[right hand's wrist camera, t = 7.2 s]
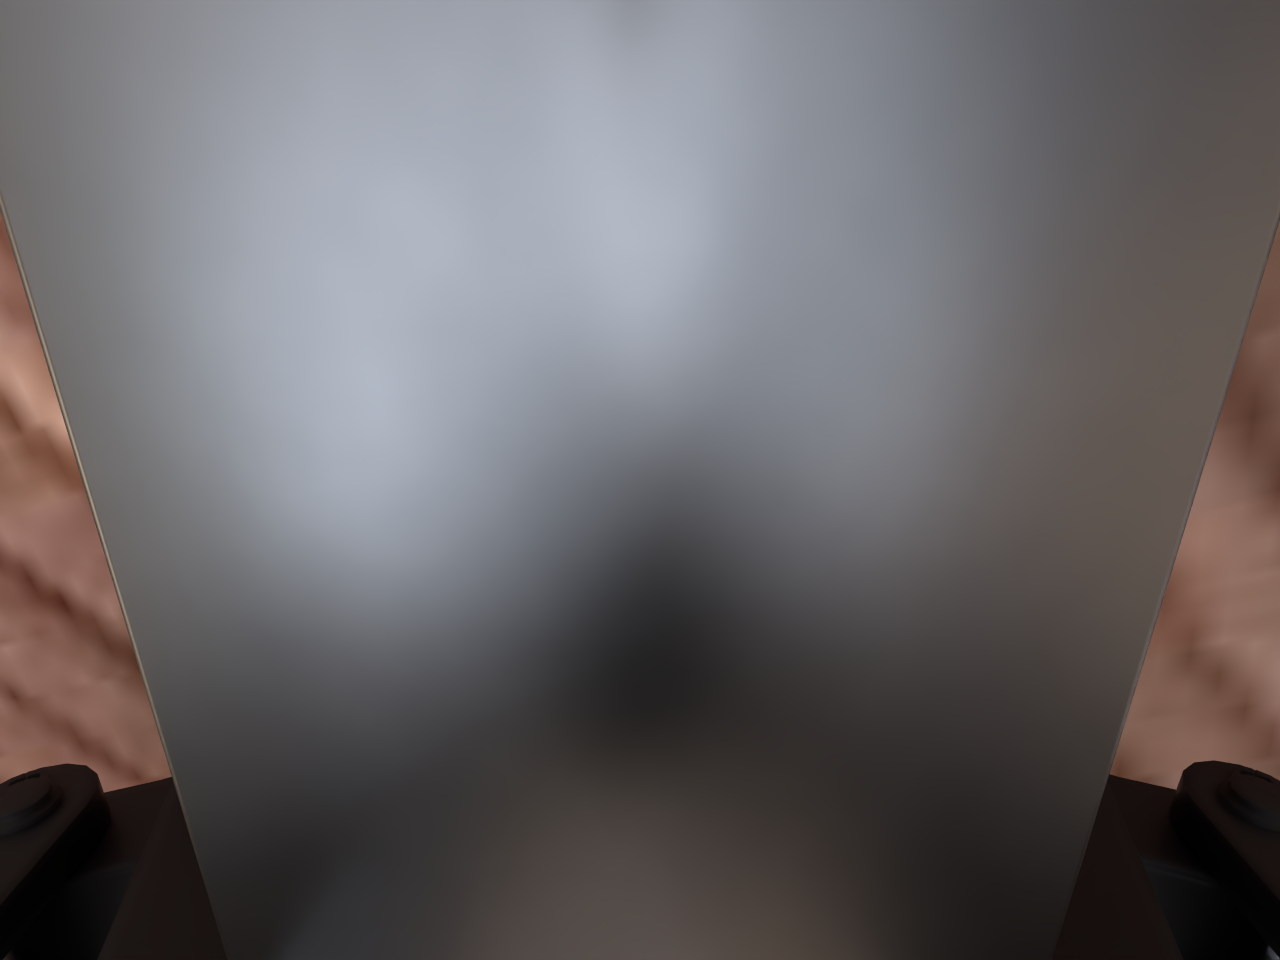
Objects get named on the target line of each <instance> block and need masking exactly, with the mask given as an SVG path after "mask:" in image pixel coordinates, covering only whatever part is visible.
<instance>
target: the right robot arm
mask: <svg viewBox="0 0 1280 960" xmlns="http://www.w3.org/2000/svg"><path fill="white" fill-rule="evenodd" d="M0 960H227V956H226V953H225V950H224V947H223V943H222V940H221V937H220V933H219V930H218V927H217V923H216V920H215V917H214V914H213V910H212V907H211V904H210V900H209V897H208V894H207V890H206V887H205V884H204V881H203V877H202V874H201V871H200V867H199V864H198V861H197V857H196V854H195V851H194V848H193V844H192V841H191V838H190V834H189V831H188V828H187V824H186V821H185V818H184V815H183V811H182V808H181V805H180V801H179V798H178V795H177V791H176V788H175V785H174V782H173V778H172V777H170V778H166V779H163V780H159V781H154V782H150V783H146V784H141V785H137V786H132V787H128V788H123V789H119V790H114V791H110V792H105V793H104V792H103V789H102V786H101V783H100V780H99V778H98V775H97V773H95V772H94V771H93V770H91V769H90V768H89V767H87V766H85V765H76V764H61V765H55V766H49V767H43V768H39V769H36V770H33V771H30V772H28V773H25V774H24V773H23V774H21V775H18V776H16V777H13V778H11V779H9V780H7V781H6V782H4V783H2V784H0ZM1052 960H1280V781H1279V780H1277V779H1275V778H1274V777H1272V776H1270V775H1268V774H1265V773H1263V772H1260V771H1257V770H1253V769H1252V768H1248V767H1244V766H1242V765H1238V764H1232V763H1226V762H1220V761H1204V762H1195V763H1193V764H1192V765H1190V766H1189V767H1188V768H1186V769H1185V770H1183V773H1182V776H1181V779H1180V781H1179V784H1178V787H1177V790H1175V789H1170V788H1166V787H1161V786H1157V785H1152V784H1148V783H1143V782H1139V781H1134V780H1130V779H1125V778H1121V777H1117V776H1113V775H1110V774H1109V776H1108V779H1107V783H1106V786H1105V789H1104V792H1103V796H1102V799H1101V802H1100V805H1099V809H1098V812H1097V815H1096V818H1095V822H1094V825H1093V828H1092V831H1091V835H1090V838H1089V841H1088V844H1087V848H1086V851H1085V854H1084V857H1083V861H1082V864H1081V867H1080V870H1079V874H1078V877H1077V880H1076V883H1075V887H1074V890H1073V893H1072V896H1071V900H1070V903H1069V906H1068V909H1067V913H1066V916H1065V919H1064V922H1063V926H1062V929H1061V932H1060V935H1059V939H1058V942H1057V945H1056V948H1055V952H1054V955H1053V958H1052Z"/></svg>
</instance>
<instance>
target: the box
mask: <svg viewBox="0 0 1280 960" xmlns="http://www.w3.org/2000/svg"><path fill="white" fill-rule="evenodd" d="M0 211H1V214H2V217H3V221H4V224H5V227H6V231H7V234H8V237H9V241H10V244H11V247H12V250H13V254H14V257H15V260H16V264H17V267H18V270H19V273H20V277H21V280H22V283H23V287H24V290H25V293H26V297H27V300H28V303H29V306H30V310H31V313H32V316H33V320H34V323H35V326H36V330H37V333H38V336H39V339H40V343H41V346H42V349H43V353H44V356H45V359H46V363H47V366H48V369H49V372H50V376H51V379H52V382H53V386H54V389H55V392H56V396H57V399H58V402H59V405H60V409H61V412H62V415H63V419H64V422H65V425H66V429H67V432H68V435H69V438H70V442H71V445H72V448H73V452H74V455H75V458H76V462H77V465H78V468H79V471H80V475H81V478H82V481H83V485H84V488H85V491H86V495H87V498H88V501H89V504H90V508H91V511H92V514H93V518H94V521H95V524H96V528H97V531H98V534H99V537H100V541H101V544H102V547H103V551H104V554H105V557H106V561H107V564H108V567H109V570H110V574H111V577H112V580H113V584H114V587H115V590H116V594H117V597H118V600H119V603H120V607H121V610H122V613H123V617H124V620H125V623H126V626H127V630H128V633H129V636H130V640H131V643H132V646H133V650H134V653H135V656H136V659H137V663H138V666H139V669H140V673H141V676H142V679H143V683H144V686H145V689H146V692H147V696H148V699H149V702H150V706H151V709H152V712H153V716H154V719H155V722H156V725H157V729H158V732H159V735H160V739H161V742H162V745H163V749H164V752H165V755H166V758H167V762H168V765H169V768H170V772H171V775H172V778H173V782H174V785H175V788H176V791H177V795H178V798H179V801H180V805H181V808H182V811H183V815H184V818H185V821H186V824H187V828H188V831H189V834H190V838H191V841H192V844H193V848H194V851H195V854H196V857H197V861H198V864H199V867H200V871H201V874H202V877H203V881H204V884H205V887H206V890H207V894H208V897H209V900H210V904H211V907H212V910H213V914H214V917H215V920H216V923H217V927H218V930H219V933H220V937H221V940H222V943H223V947H224V950H225V953H226V956H227V960H1052V958H1053V955H1054V952H1055V948H1056V945H1057V942H1058V939H1059V935H1060V932H1061V929H1062V926H1063V922H1064V919H1065V916H1066V913H1067V909H1068V906H1069V903H1070V900H1071V896H1072V893H1073V890H1074V887H1075V883H1076V880H1077V877H1078V874H1079V870H1080V867H1081V864H1082V861H1083V857H1084V854H1085V851H1086V848H1087V844H1088V841H1089V838H1090V835H1091V831H1092V828H1093V825H1094V822H1095V818H1096V815H1097V812H1098V809H1099V805H1100V802H1101V799H1102V796H1103V792H1104V789H1105V786H1106V783H1107V779H1108V776H1109V773H1110V770H1111V766H1112V763H1113V760H1114V757H1115V753H1116V750H1117V747H1118V744H1119V740H1120V737H1121V734H1122V731H1123V727H1124V724H1125V721H1126V718H1127V714H1128V711H1129V708H1130V705H1131V701H1132V698H1133V695H1134V692H1135V689H1136V685H1137V682H1138V679H1139V676H1140V672H1141V669H1142V666H1143V663H1144V659H1145V656H1146V653H1147V650H1148V646H1149V643H1150V640H1151V637H1152V633H1153V630H1154V627H1155V624H1156V620H1157V617H1158V614H1159V611H1160V607H1161V604H1162V601H1163V598H1164V594H1165V591H1166V588H1167V585H1168V581H1169V578H1170V575H1171V572H1172V568H1173V565H1174V562H1175V559H1176V555H1177V552H1178V549H1179V546H1180V542H1181V539H1182V536H1183V533H1184V529H1185V526H1186V523H1187V520H1188V516H1189V513H1190V510H1191V507H1192V503H1193V500H1194V497H1195V494H1196V490H1197V487H1198V484H1199V481H1200V477H1201V474H1202V471H1203V468H1204V464H1205V461H1206V458H1207V455H1208V451H1209V448H1210V445H1211V442H1212V438H1213V435H1214V432H1215V429H1216V425H1217V422H1218V419H1219V416H1220V412H1221V409H1222V406H1223V403H1224V400H1225V396H1226V393H1227V390H1228V387H1229V383H1230V380H1231V377H1232V374H1233V370H1234V367H1235V364H1236V361H1237V357H1238V354H1239V351H1240V348H1241V344H1242V341H1243V338H1244V335H1245V331H1246V328H1247V325H1248V322H1249V318H1250V315H1251V312H1252V309H1253V305H1254V302H1255V299H1256V296H1257V292H1258V289H1259V286H1260V283H1261V279H1262V276H1263V273H1264V270H1265V266H1266V263H1267V260H1268V257H1269V253H1270V250H1271V247H1272V244H1273V240H1274V237H1275V234H1276V231H1277V227H1278V224H1279V221H1280V0H0Z"/></svg>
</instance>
